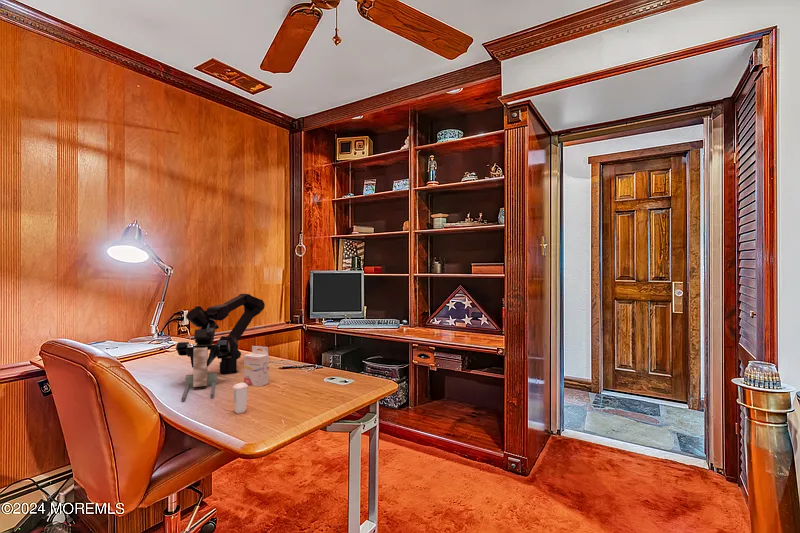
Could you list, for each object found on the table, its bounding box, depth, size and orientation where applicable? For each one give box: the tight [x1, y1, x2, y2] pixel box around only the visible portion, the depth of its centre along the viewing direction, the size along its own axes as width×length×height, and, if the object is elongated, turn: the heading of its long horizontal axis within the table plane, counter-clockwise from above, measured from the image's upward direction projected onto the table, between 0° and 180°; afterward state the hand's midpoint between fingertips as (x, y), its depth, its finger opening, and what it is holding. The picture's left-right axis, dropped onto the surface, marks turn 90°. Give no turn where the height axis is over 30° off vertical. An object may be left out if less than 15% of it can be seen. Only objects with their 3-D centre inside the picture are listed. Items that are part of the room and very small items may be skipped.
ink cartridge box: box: [243, 345, 270, 387], centre depth 156 cm, size 9×5×15 cm, turn 71°
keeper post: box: [192, 347, 209, 388], centre depth 151 cm, size 4×4×14 cm
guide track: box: [181, 371, 218, 403], centre depth 147 cm, size 11×22×4 cm, turn 24°
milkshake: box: [230, 380, 249, 415], centre depth 126 cm, size 4×5×10 cm
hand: (200, 366), depth 150 cm, fingers closed on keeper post, 5 cm apart
